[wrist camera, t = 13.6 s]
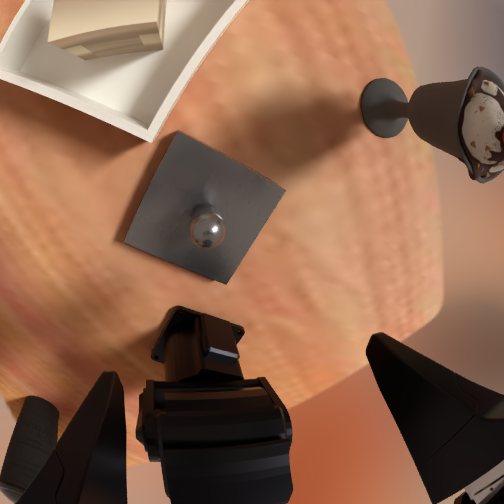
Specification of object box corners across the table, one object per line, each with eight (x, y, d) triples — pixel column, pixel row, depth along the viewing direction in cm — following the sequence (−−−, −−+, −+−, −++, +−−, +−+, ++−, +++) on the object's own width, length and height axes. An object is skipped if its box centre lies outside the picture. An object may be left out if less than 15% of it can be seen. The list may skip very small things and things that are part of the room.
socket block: (163, 49, 14) (156, 21, 9) (85, 60, 13) (47, 42, 8) (168, -16, 12) (167, -61, 6) (92, -6, 10) (64, -42, 5)
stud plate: (223, 276, 23) (235, 314, 19) (126, 235, 19) (114, 268, 15) (280, 186, 20) (306, 207, 16) (178, 129, 17) (178, 135, 13)
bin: (157, 136, 17) (151, 143, 13) (16, 76, 12) (-14, 74, 8) (255, -7, 13) (273, -29, 10) (111, -61, 8) (102, -87, 5)
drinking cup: (47, 387, 24) (28, 550, 7) (79, 423, 28) (77, 563, 10) (5, 388, 23) (-22, 527, 5) (37, 422, 26) (26, 547, 9)
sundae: (336, 119, 19) (532, 170, 6) (373, 52, 17) (555, 52, 4) (393, 163, 22) (550, 240, 9) (423, 101, 20) (579, 141, 7)
